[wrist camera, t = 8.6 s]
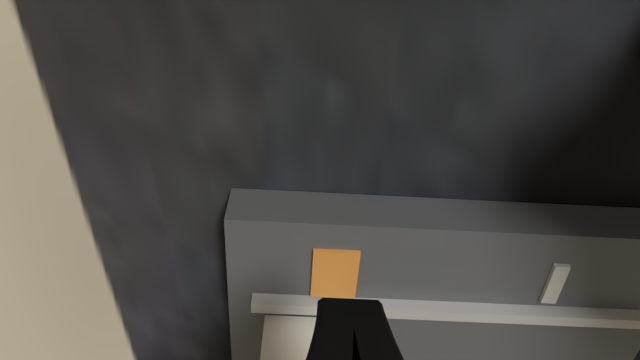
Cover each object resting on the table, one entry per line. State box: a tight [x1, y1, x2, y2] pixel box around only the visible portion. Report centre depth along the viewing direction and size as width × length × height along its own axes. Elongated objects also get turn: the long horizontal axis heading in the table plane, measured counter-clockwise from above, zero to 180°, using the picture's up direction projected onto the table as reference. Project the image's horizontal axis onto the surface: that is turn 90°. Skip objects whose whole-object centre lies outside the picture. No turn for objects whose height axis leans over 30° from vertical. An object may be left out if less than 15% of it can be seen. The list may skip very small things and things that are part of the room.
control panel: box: [224, 188, 640, 360], centre depth 25 cm, size 18×14×3 cm
